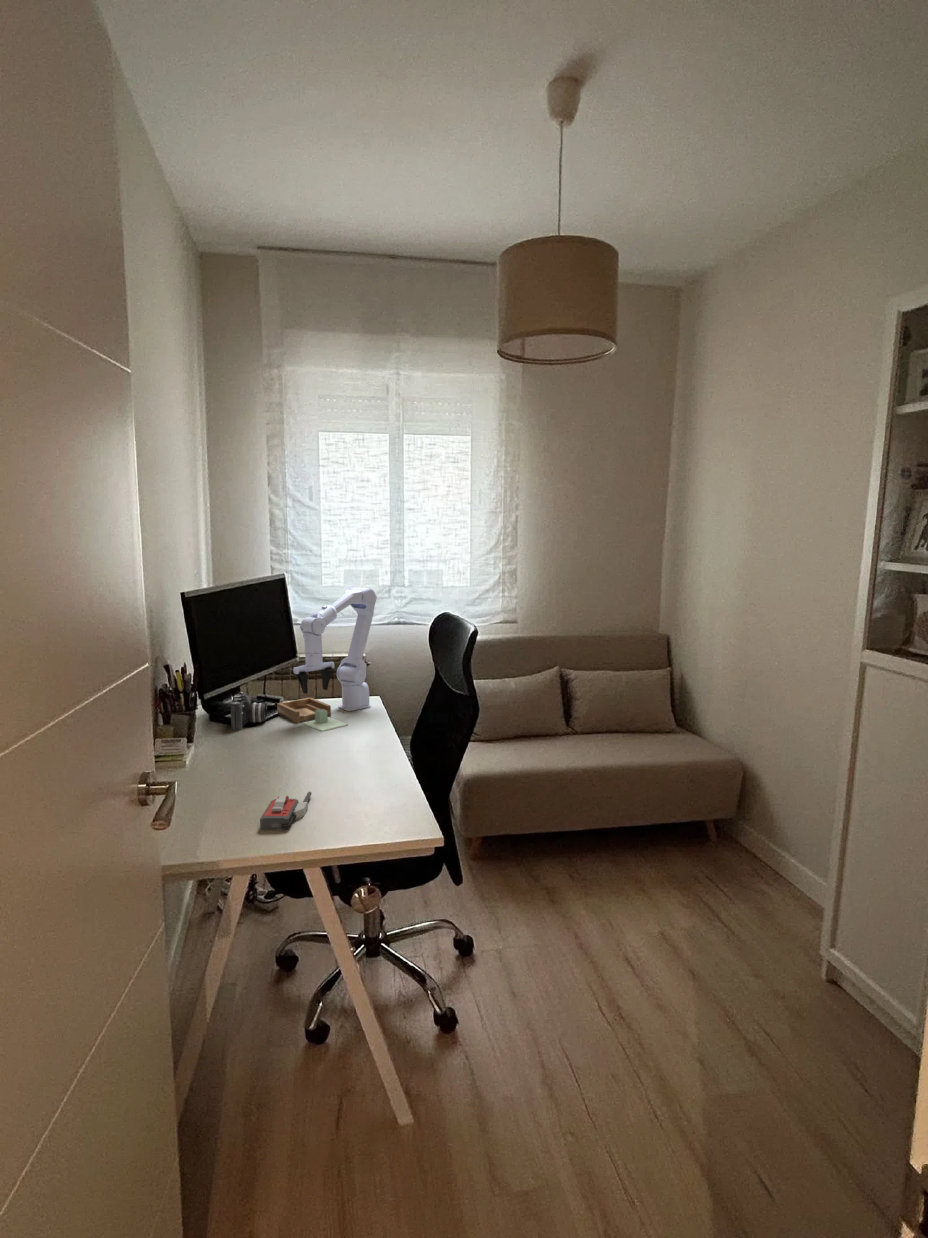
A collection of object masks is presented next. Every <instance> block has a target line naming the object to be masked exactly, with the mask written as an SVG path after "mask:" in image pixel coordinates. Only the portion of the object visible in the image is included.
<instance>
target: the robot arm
mask: <svg viewBox="0 0 928 1238" xmlns="http://www.w3.org/2000/svg"><path fill="white" fill-rule="evenodd" d="M377 600H378V599H377V595H376V592H375V590H374V589H373V588H371V587H367V588H366V587H355V586H350V587H349V588H347V589H346V590H345V591H343V595H341V596H340V597H339V598H338V599H337V600H335V602H333V603H332V604H331V605H328V604H327V605H323V606H321V608H320V609H319V610H318V611H317V612H313V613H312V615H311V616H306V617H304V619H302V621H301V624H300V625H299V629H300V631H301V632H302V637H303V639H304V654H305V655H304V660H305V664H302V665H299V666H296V667H295V666H294V667H293V674H294V675H295V676H296V679H297V680H298V682H299V684H300V687H301V689H302V693H303V694H304V695H306V694H308V692H309V691H308V689H309V688H308V682H309V681H308V679H309V674H307V672H314V671H320V674H321V682H322V684H321V685H322V686H321V687H322V690H324V691H327V690H328V687H329V684H330V681H331V678H332V675H333V674H334V669H335V662H334V661H326V662H324V661H323V641H322V639H323V636H322V634H324V632H325V630H326V628H327V626H328V625H329V624H331V623H332V622H333V621H334V620H336V619H337V616H338V613H341V612H342V611H343V610H345V609H346V608H348V607H349V606H350V607H351V609H353V610H354V611H355V612H356V613H357V618H356V621H355V626H354V629H353V633H352V637H351V641H350V644H349V649H348V653H347V656H346V657H344V658H343V659H342V660H341V661H340V664H339V666H338V667H337V669H336V678H337V680H338V681H339V683H340V685H341V703H342V704H341V705H337V707H338V708H339V709H341V710H345V711H347V712H352V711H356V710H362V709H366V708H371V704H370V689H369V685H368V683H367V682H365V680H366V678H367V667H368V666H367V664H366V663H365V661H364V660H363V658H364V655H365V654H364V653H365V650H366V646H367V642H368V638H369V634H370V631H371V625H372V621H373V617H374V611H375V606H376V602H377Z"/></svg>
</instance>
